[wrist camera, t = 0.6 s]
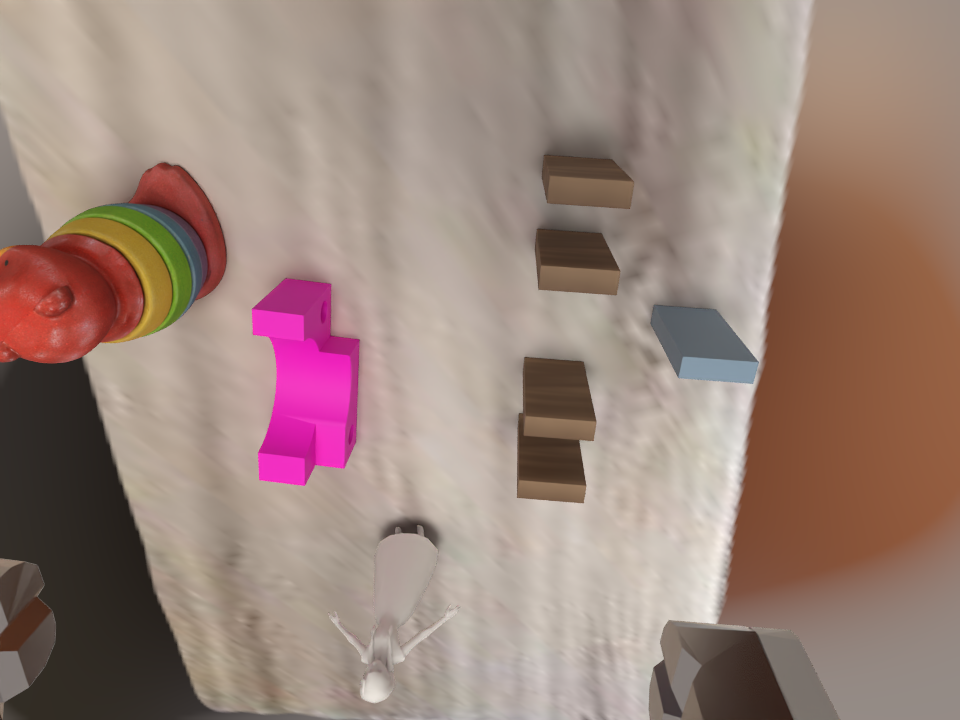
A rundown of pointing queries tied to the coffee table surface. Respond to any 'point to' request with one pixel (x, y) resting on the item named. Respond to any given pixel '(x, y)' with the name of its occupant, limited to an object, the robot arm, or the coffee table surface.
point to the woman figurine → (395, 608)
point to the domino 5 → (702, 345)
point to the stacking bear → (111, 272)
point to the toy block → (307, 383)
